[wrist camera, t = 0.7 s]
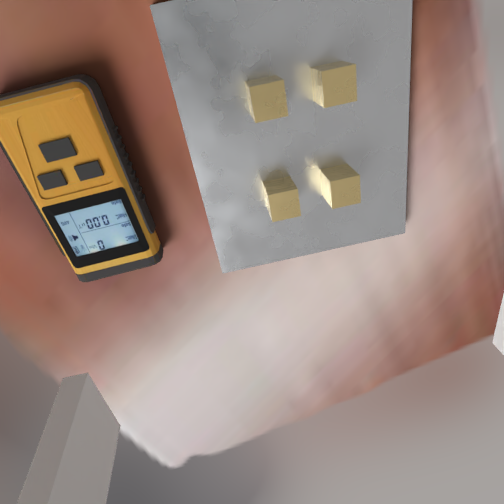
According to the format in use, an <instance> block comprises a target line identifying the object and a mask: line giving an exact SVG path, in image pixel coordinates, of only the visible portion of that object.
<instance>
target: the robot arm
mask: <svg viewBox="0 0 504 504" xmlns="http://www.w3.org/2000/svg"><path fill="white" fill-rule="evenodd" d="M493 344H494V345H495V346H496V347H497V348H498V349H499V351H500V352H501V353H502V354H503V355H504V295H503V299H502V303H501V308H500V312H499V316H498V321H497V325H496V330H495V334H494V338H493ZM119 430H120V424H119V423H118V421H117V419H116V418H115V416H114V415H113V413H112V411H111V410H110V408H109V406H108V405H107V403H106V402H105V400H104V398H103V397H102V395H101V393H100V392H99V390H98V388H97V387H96V385H95V384H94V382H93V380H92V379H91V377H90V375H89V374H88V373H84V374H79V375H75V376H70V377H66V378H63V380H62V382H61V385H60V388H59V391H58V393H57V396H56V399H55V401H54V405H53V407H52V410H51V412H50V415H49V418H48V420H47V423H46V426H45V428H44V431H43V434H42V437H41V440H40V442H39V445H38V447H37V450H36V453H35V456H34V458H33V461H32V464H31V467H30V469H29V472H28V475H27V477H26V480H25V483H24V485H23V488H22V491H21V494H20V497H19V499H18V502H17V504H106V500H107V495H108V489H109V484H110V479H111V473H112V467H113V463H114V457H115V452H116V446H117V441H118V435H119Z"/></svg>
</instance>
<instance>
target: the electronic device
mask: <svg viewBox="0 0 504 504" xmlns="http://www.w3.org/2000/svg"><path fill="white" fill-rule="evenodd" d="M117 129H118V126H116V125H115V124H114V122H113V119H112V117H111V114H110V112H109V109H108V107H107V104H106V102H105V99H104V97H103V94H102V92H101V89H100V87H99V85H98V84H97V82H96V81H95V79H93V78H92V77H90V76H88V75H85V74H78V75H74V76H70V77H66V78H62V79H58V80H55V81H51V82H47V83H43V84H39V85H35V86H31V87H28V88H24V89H20V90H16V91H12V92H9V93H5V94H1V95H0V146H1V148H2V150H3V152H4V153H5V155H6V157H7V159H8V160H9V162H10V164H11V166H12V167H13V169H14V171H15V173H16V174H17V176H18V178H19V180H20V181H21V183H22V185H23V186H24V188H25V190H26V192H27V193H28V195H29V197H30V199H31V200H32V202H33V204H34V206H35V207H36V209H37V211H38V213H39V214H40V216H41V218H42V220H43V221H44V223H45V225H46V227H47V228H48V230H49V232H50V234H51V235H52V237H53V239H54V241H55V242H56V244H57V246H58V247H59V249H60V251H61V252H62V254H63V255H64V256H66V257H67V259H68V260H69V262H70V264H71V266H72V267H73V269H74V271H75V273H76V275H77V277H78V278H79V280H80V281H82V282H90V281H94V280H98V279H102V278H105V277H109V276H113V275H117V274H121V273H125V272H129V271H133V270H137V269H141V268H144V267H148V266H152V265H155V264H157V263H158V262H160V261H161V259H162V256H163V248H162V245H161V243H160V241H159V239H158V236H157V234H156V231H155V223H154V221H153V218H152V216H151V213H150V211H149V208H148V206H147V204H146V201H145V194H143V193H142V187H141V186H139V184H138V182H139V179H138V178H136V176H135V173H136V171H135V170H133V169H132V162H131V161H129V159H128V156H129V154H128V153H126V151H125V149H124V148H125V147H126V146H125V144H122V141H121V138H122V136H121V135H119V134H118V131H117Z"/></svg>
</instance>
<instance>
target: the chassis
mask: <svg viewBox="0 0 504 504" xmlns="http://www.w3.org/2000/svg"><path fill="white" fill-rule="evenodd" d="M150 8H151V12H152V15H153V19H154V23H155V26H156V30H157V34H158V38H159V41H160V45H161V49H162V52H163V56H164V60H165V63H166V67H167V71H168V74H169V78H170V82H171V85H172V89H173V93H174V96H175V100H176V104H177V107H178V111H179V115H180V118H181V122H182V126H183V129H184V133H185V137H186V140H187V144H188V148H189V151H190V155H191V159H192V162H193V166H194V170H195V173H196V177H197V181H198V184H199V188H200V192H201V195H202V199H203V203H204V207H205V210H206V214H207V218H208V221H209V225H210V229H211V232H212V236H213V240H214V243H215V247H216V251H217V254H218V258H219V262H220V265H221V269H222V273H227V272H231V271H236V270H240V269H245V268H249V267H254V266H258V265H263V264H268V263H272V262H277V261H281V260H286V259H290V258H295V257H299V256H304V255H308V254H313V253H317V252H322V251H326V250H331V249H335V248H340V247H344V246H349V245H353V244H358V243H362V242H367V241H371V240H376V239H380V238H385V237H389V236H394V235H399V234H403V233H405V222H406V190H407V159H408V127H409V95H410V64H411V32H412V0H172V1H167V2H162V3H158V4H153V5H150Z"/></svg>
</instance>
